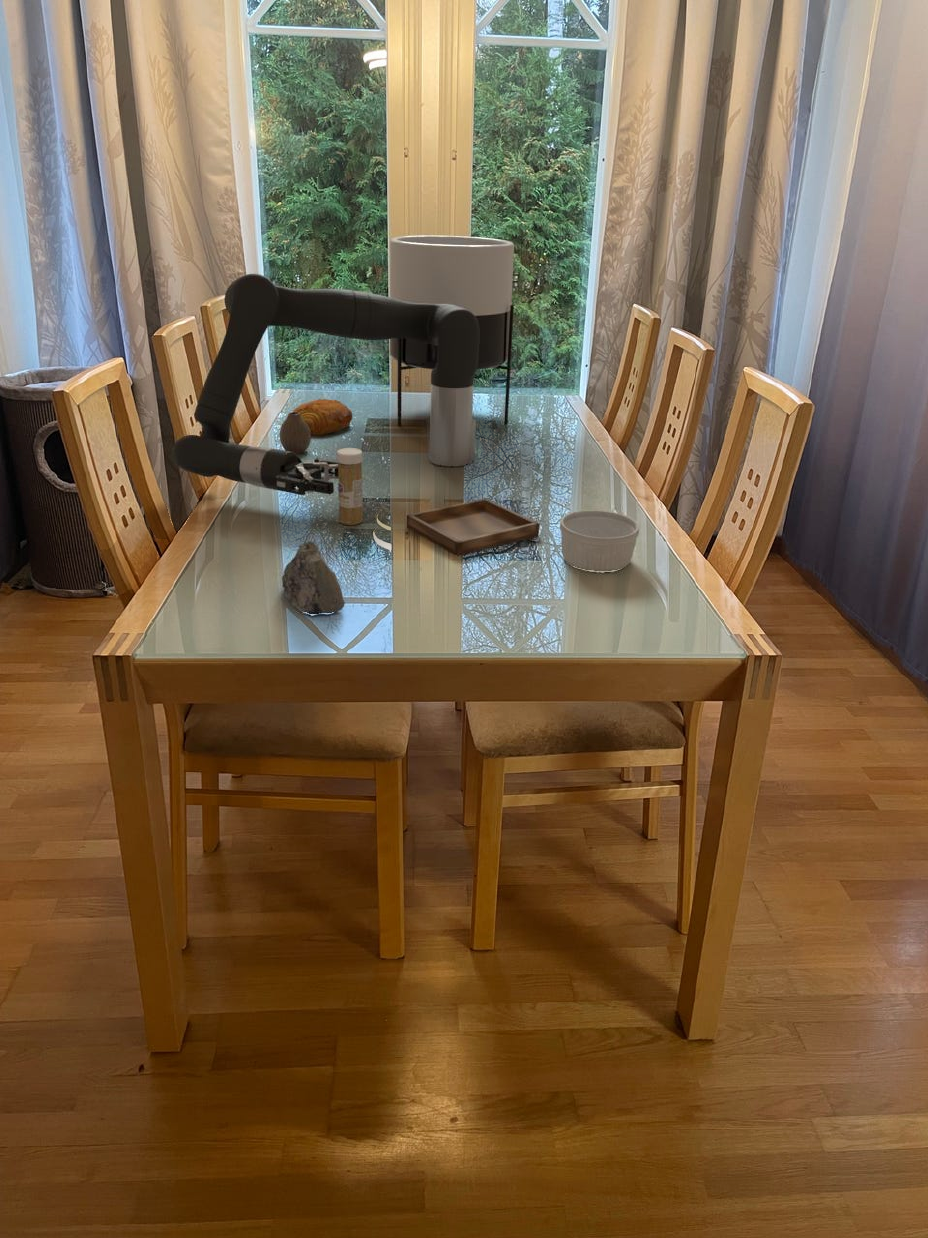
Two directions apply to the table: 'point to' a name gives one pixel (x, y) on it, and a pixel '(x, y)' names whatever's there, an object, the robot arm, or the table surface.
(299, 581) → the mineral rock
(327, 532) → the table surface
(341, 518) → the sprinkles bottle
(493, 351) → the planter
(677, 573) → the table surface
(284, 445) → the vase
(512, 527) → the walnut tray
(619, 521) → the ramekin
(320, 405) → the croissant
